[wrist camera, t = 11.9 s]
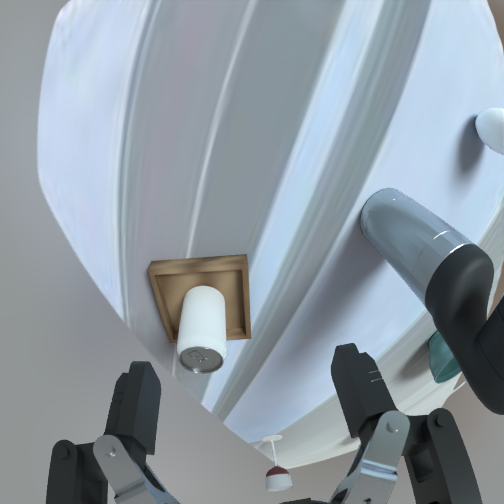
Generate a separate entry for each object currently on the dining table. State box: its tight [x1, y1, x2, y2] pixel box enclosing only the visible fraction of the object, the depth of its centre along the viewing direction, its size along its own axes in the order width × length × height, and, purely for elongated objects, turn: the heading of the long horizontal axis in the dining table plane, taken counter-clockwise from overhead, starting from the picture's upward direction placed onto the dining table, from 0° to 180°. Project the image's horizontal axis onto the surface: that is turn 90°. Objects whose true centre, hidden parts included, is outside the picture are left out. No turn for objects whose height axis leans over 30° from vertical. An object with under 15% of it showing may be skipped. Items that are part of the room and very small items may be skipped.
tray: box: [148, 254, 251, 343], centre depth 42 cm, size 14×15×2 cm
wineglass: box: [261, 435, 293, 491], centre depth 68 cm, size 8×9×20 cm
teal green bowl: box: [429, 331, 462, 383], centre depth 53 cm, size 16×16×11 cm
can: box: [177, 286, 226, 373], centre depth 37 cm, size 6×6×12 cm
